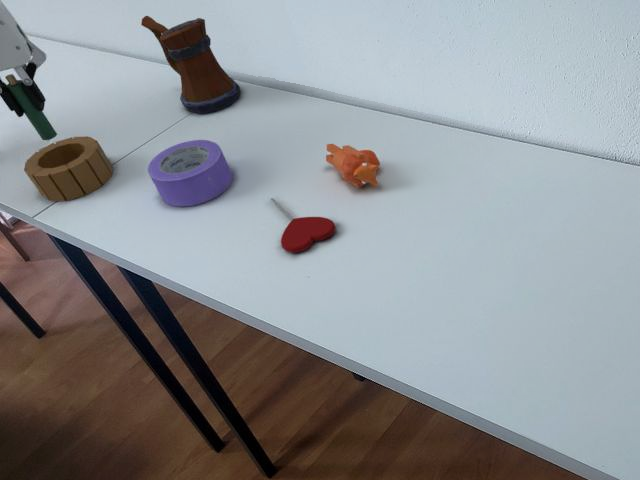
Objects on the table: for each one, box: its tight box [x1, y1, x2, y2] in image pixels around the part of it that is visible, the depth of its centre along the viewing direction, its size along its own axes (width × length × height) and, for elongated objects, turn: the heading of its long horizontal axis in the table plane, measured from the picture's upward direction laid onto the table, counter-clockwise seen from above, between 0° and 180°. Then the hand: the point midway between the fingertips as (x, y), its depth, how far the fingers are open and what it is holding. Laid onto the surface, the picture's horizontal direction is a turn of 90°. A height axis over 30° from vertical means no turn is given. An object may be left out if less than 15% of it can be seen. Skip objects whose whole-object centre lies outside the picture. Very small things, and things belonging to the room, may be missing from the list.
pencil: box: [5, 73, 58, 141], centre depth 101 cm, size 2×2×10 cm
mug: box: [141, 15, 241, 115], centre depth 122 cm, size 18×12×15 cm, turn 53°
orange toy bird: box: [325, 143, 381, 188], centre depth 99 cm, size 5×8×12 cm
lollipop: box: [270, 197, 336, 254], centre depth 94 cm, size 8×1×15 cm
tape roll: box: [147, 139, 233, 208], centre depth 103 cm, size 12×12×5 cm
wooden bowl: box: [23, 136, 114, 202], centre depth 109 cm, size 12×12×5 cm
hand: (31, 109), depth 101 cm, fingers closed on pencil, 2 cm apart
